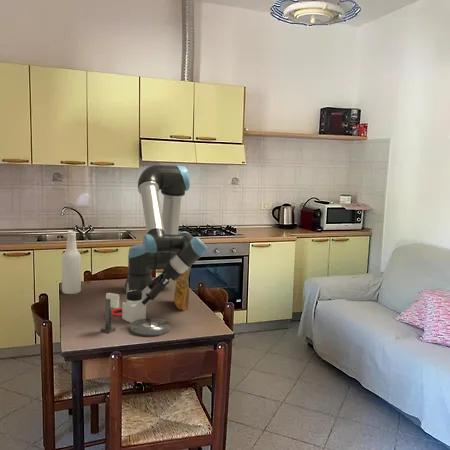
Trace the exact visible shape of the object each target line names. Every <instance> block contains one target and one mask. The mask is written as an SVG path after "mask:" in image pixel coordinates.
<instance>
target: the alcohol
mask: <svg viewBox="0 0 450 450" xmlns="http://www.w3.org/2000/svg"><path fill="white" fill-rule="evenodd" d="M66 233H67V239H66V248H65V251H64V252H63V253H62V257H61V291H62V293H63V294H65V295H76V294H79V293H80V292H81V291H82V256H81V253H80V252H79V250H78V248H77V236H76V235H77V234H76V233H77V231H75V230H68V231H67V232H66Z"/></svg>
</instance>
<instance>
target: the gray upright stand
mask: <svg viewBox="0 0 450 450" xmlns="http://www.w3.org/2000/svg"><path fill="white" fill-rule="evenodd" d="M104 307H105V309H104V310H105V312H104V313H105V315H104V317H105V318H104V319H105V320H104V325H105V326H104V327H102V328H100V332H101V333H106V334H111V333H113V332H115V331H116V330H117V329H116V327H113V326H112V315H111V311H112V308H113V309H120V294H119V293H118V294H117V293H114V292H113V293H112V292H107V293H105V306H104Z"/></svg>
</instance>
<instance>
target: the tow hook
mask: <svg viewBox="0 0 450 450" xmlns="http://www.w3.org/2000/svg"><path fill="white" fill-rule="evenodd" d="M128 291H129V285H128V283H127V287H126V292H125V294H126V298H127V292H128ZM126 301H127V299H126V300H125V302H126ZM117 312H118V313H117ZM119 312H122V307H119V308H114V309H111V317H117V318H119V317H120V318H122V313H119Z"/></svg>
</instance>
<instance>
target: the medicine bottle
mask: <svg viewBox="0 0 450 450" xmlns="http://www.w3.org/2000/svg"><path fill="white" fill-rule="evenodd" d="M126 300H127V301H126ZM126 300H125V301H123V302H122V304H121V305H122V307H121V308H122V311H121V314H122V317H121V318H122V320H124V321H126V322H128V323H130V324H131V323H132V322H133V321H136V320H139V319H145V318H147V305H145V306H144V307H143V308H142V309H141V310H140V311H138V310H137V309H136V308H135V307H134V306H135V305H136V304H137V303H138V302H139V301H140V300H142V292H141V291H139V290H131V291H128V292H127V297H126Z"/></svg>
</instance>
